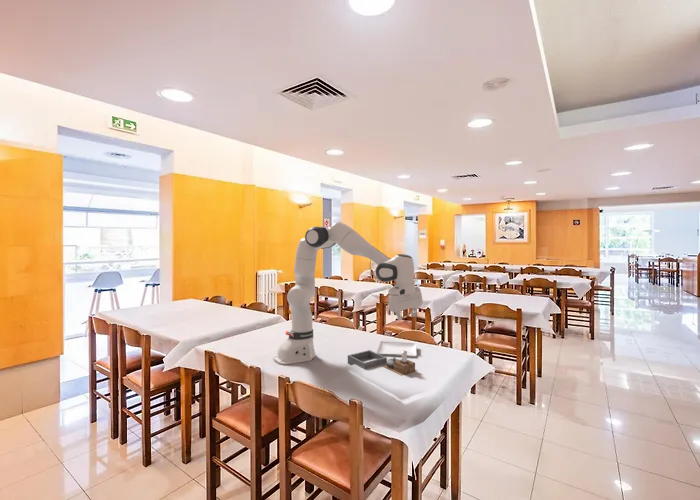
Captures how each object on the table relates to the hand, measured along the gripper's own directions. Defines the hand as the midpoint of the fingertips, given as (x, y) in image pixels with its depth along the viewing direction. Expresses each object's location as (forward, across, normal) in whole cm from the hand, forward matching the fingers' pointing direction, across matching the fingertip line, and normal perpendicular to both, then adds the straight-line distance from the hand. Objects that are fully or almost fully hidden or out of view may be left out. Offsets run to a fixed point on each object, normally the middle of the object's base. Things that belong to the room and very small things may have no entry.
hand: (406, 318), depth 158 cm
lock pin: (+24, +3, 0) cm, 24 cm away
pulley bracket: (+26, +3, -4) cm, 26 cm away
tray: (+25, +9, -20) cm, 33 cm away
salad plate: (+26, -15, -22) cm, 38 cm away
